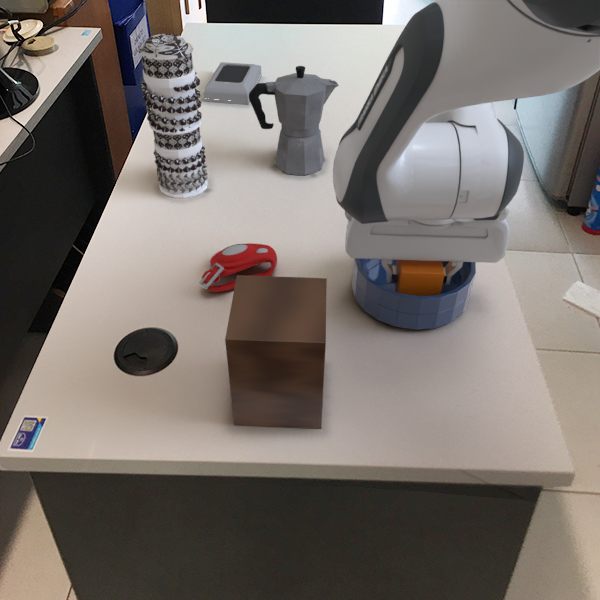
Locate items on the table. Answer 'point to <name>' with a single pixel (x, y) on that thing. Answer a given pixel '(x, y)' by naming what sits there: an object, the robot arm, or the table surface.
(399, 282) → the orange cube
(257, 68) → the grey electronic device
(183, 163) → the decorative candle
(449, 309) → the bowl
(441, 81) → the robot arm
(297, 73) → the coffeepot
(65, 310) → the table surface
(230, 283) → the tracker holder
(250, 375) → the block
